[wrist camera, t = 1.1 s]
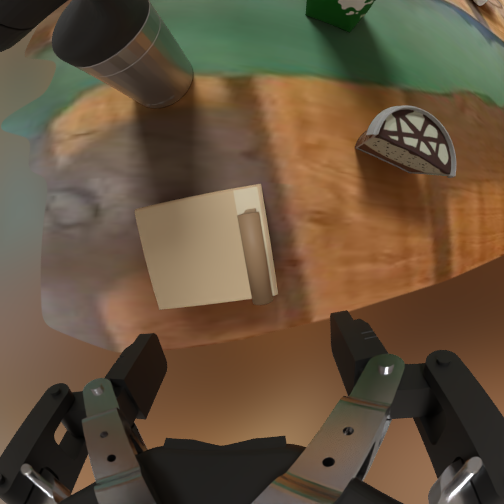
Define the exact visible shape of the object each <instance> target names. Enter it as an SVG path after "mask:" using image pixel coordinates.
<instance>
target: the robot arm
mask: <svg viewBox="0 0 504 504" xmlns="http://www.w3.org/2000/svg"><path fill="white" fill-rule="evenodd" d="M66 1H68V0H0V52H2V51H4V50H6V49H9V48H11V47H12V46H14V45H15V44H16V43H17V42H19V41H20V40H21V39H22V38H23V37H25V36H26V35H27V34H28V33H29V32H30V31H31V30H32V29H33V28H34V27H36V26H37V25H38V24H39V23H40V22H41V21H42V20H44V19H45V18H46V17H47V16H48V15H50V14H51V13H52V12H53V11H55V10H56V9H57V8H58V7H60V6H61V5H62V4H64V3H65V2H66ZM52 47H53V51H54V53H55V54H56V55H57V56H58V57H59V58H60V59H61V60H63V61H65V62H67V63H69V64H71V65H73V66H75V67H77V68H79V69H80V70H82V71H84V72H86V73H88V74H90V75H92V76H94V77H96V78H97V79H99V80H101V81H103V82H104V83H106V84H108V85H110V86H111V87H113V88H115V89H117V90H118V91H120V92H122V93H124V94H125V95H127V96H129V97H130V98H132V99H134V100H135V101H137V102H139V103H140V104H142V105H144V106H146V107H150V108H162V107H166V106H168V105H171V104H173V103H174V102H176V101H178V100H179V99H180V98H181V97H182V96H183V95H184V94H185V93H186V92H187V90H188V89H189V87H190V85H191V82H192V79H193V70H192V66H191V64H190V62H189V60H188V59H187V57H186V56H185V54H184V52H183V51H182V49H181V48H180V46H179V44H178V43H177V41H176V40H175V38H174V37H173V35H172V34H171V32H170V31H169V29H168V28H167V26H166V25H165V23H164V22H163V20H162V19H161V17H160V16H159V14H158V13H157V11H156V10H155V9H154V7H153V6H152V4H151V3H150V1H149V0H72V1H71V2H70V4H69V5H68V6H67V7H66V9H65V10H64V11H63V13H62V14H61V16H60V18H59V20H58V21H57V24H56V26H55V28H54V31H53V36H52ZM330 325H331V347H332V353H333V357H334V359H335V362H336V364H337V367H338V370H339V372H340V375H341V378H342V381H343V383H344V386H345V389H346V391H347V394H348V397H346V396H343V397H342V398H341V399H340V401H339V402H338V403H337V405H336V406H335V408H334V409H333V411H332V412H331V414H330V415H329V417H328V418H327V420H326V421H325V423H324V424H323V426H322V427H321V429H320V430H319V431H318V433H317V434H316V435H315V437H314V438H313V439H312V441H311V442H310V444H309V445H308V446H307V447H303V446H299V445H294V444H286V438H285V436H279V437H269V438H256V439H251V440H247V441H243V442H239V443H234V444H230V445H225V446H219V445H214V444H209V443H205V442H201V441H197V440H190V439H189V440H188V439H172V438H166V440H165V443H164V446H161V447H155V448H152V449H149V450H148V449H147V448H146V445H145V443H144V441H143V439H142V437H141V435H140V433H139V431H138V428H137V426H136V425H135V423H134V421H135V418H137V419H146V418H147V415H148V413H149V411H150V409H151V406H152V404H153V402H154V399H155V397H156V395H157V392H158V390H159V388H160V385H161V383H162V381H163V379H164V376H165V374H166V372H167V361H166V358H165V355H164V353H163V350H162V347H161V345H160V342H159V339H158V337H157V335H156V334H154V333H152V334H140V335H139V336H138V337H137V339H136V340H135V341H134V343H133V344H131V345H130V346H129V347H127V348H126V349H125V350H124V351H123V352H122V354H121V355H120V358H118V359H117V361H116V363H115V364H114V365H113V366H112V368H111V369H110V371H109V372H108V374H107V375H106V376H105V378H99V379H95V380H93V381H91V382H89V383H88V384H87V385H86V386H85V387H84V389H83V391H81V392H71V391H70V389H69V387H68V386H67V385H66V384H63V383H59V384H55V385H53V386H51V387H50V388H49V389H48V390H47V391H46V392H45V393H44V395H43V396H42V397H41V399H40V400H39V401H38V403H37V404H36V405H35V407H34V408H33V409H32V411H31V412H30V414H29V415H28V416H27V418H26V419H25V421H24V422H23V423H22V425H21V426H20V428H19V429H18V431H17V432H16V434H15V435H14V437H13V438H12V440H11V441H10V443H9V444H8V446H7V447H6V449H5V450H4V452H3V454H2V455H1V457H0V498H1V499H2V500H3V501H4V502H6V503H7V504H403V503H401V502H399V501H397V500H395V499H393V498H392V497H390V496H388V495H386V494H384V493H382V492H380V491H379V490H377V489H375V488H373V487H372V486H370V485H368V484H367V483H365V482H363V480H364V478H365V476H366V475H367V473H368V471H369V469H370V467H371V465H372V462H373V460H374V457H375V456H376V453H377V451H378V449H379V447H380V445H381V443H382V441H383V438H384V436H385V434H386V432H387V430H388V427H389V425H390V422H391V420H392V419H396V418H397V419H398V418H412V417H413V419H414V421H415V424H416V426H417V428H418V430H419V433H420V435H421V437H422V440H423V442H424V445H425V447H426V450H427V452H428V455H429V457H430V459H431V462H432V464H433V467H434V470H435V473H436V475H437V478H438V480H437V481H436V482H435V483H434V484H433V486H432V487H431V489H430V491H429V495H428V500H429V504H504V417H503V416H502V414H501V413H500V411H499V410H498V408H497V407H496V406H495V404H494V403H493V401H492V400H491V399H490V397H489V396H488V394H487V393H486V392H485V390H484V389H483V388H482V386H481V385H480V384H479V382H478V381H477V380H476V379H475V377H474V376H473V375H472V373H471V372H470V371H469V369H468V368H467V367H466V366H465V364H464V363H463V362H462V361H461V359H460V358H459V357H458V356H457V355H456V354H455V353H453V352H450V351H447V350H438V351H434V352H432V353H431V354H429V356H427V358H426V363H422V364H404V361H403V360H402V359H401V358H399V357H398V356H396V355H393V354H388V352H387V351H386V349H385V348H384V346H383V345H382V343H381V342H380V340H379V339H378V337H376V334H375V333H374V332H373V330H372V328H371V327H370V325H369V324H368V323H366V322H365V321H363V320H361V319H357V320H353V319H352V317H351V315H350V314H349V312H348V311H347V310H346V311H341V312H335V313H331V315H330ZM60 422H62V423H63V425H64V426H65V428H66V429H67V432H66V433H65V435H64V437H63V439H62V441H61V442H60V444H59V445H58V444H57V443H56V441H55V439H54V433H55V431H56V429H57V427H58V426H59V424H60ZM88 454H89V458H90V462H91V466H92V470H93V473H94V477H95V480H96V482H94V483H93V484H91V485H89V486H87V487H86V488H84V489H82V490H80V491H78V492H76V493H75V494H73V495H71V493H72V490H73V488H74V485H75V483H76V481H77V478H78V476H79V474H80V471H81V469H82V466H83V464H84V462H85V460H86V458H87V455H88Z"/></svg>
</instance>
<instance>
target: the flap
mask: <svg viewBox="0 0 504 504" xmlns="http://www.w3.org/2000/svg"><path fill="white" fill-rule="evenodd" d="M135 216H136V221H137V226H138V230H139V235H140V239H141V243H142V248H143V252H144V256H145V260H146V264H147V268H148V271H149V275H150V279H151V283H152V286H153V290H154V293H155V297H156V300H157V303H158V307H159V310H161V309H171V308H180V307H189V306H198V305H207V304H215V303H223V302H231V301H238V300H246V299H252V301H253V304H255V305H265V304H268V303H270V302H272V301H273V296H275V295H276V289H275V282H274V276H273V269H272V263H271V256H270V250H269V243H268V237H267V231H266V225H265V218H264V212H263V206H262V200H261V194H260V188H259V186H257V187H251V188H245V189H239V190H233V191H228V192H222V193H217V194H212V195H207V196H201V197H196V198H192V199H187V200H182V201H177V202H173V203H168V204H164V205H159V206H155V207H150V208H146V209H142V210H138V211H135Z"/></svg>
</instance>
